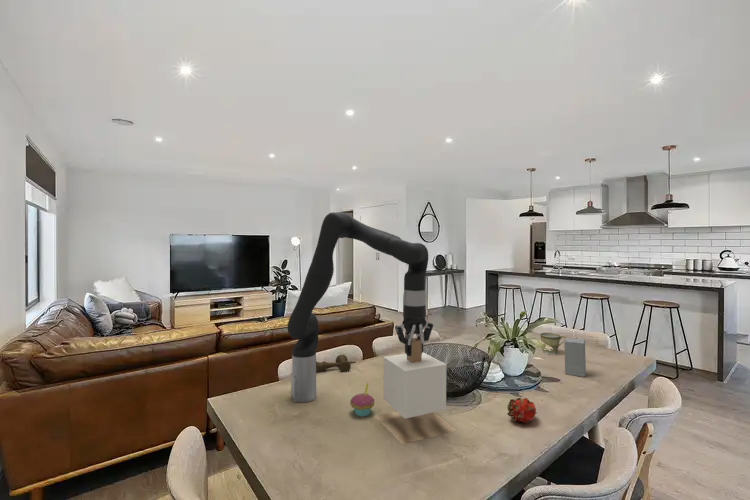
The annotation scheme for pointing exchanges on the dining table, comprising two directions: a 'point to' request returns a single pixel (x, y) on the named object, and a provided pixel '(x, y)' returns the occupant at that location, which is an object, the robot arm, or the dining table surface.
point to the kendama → (335, 364)
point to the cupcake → (362, 403)
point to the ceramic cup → (551, 341)
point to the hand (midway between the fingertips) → (414, 354)
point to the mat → (414, 426)
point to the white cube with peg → (414, 382)
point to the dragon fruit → (521, 410)
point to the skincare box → (575, 357)
